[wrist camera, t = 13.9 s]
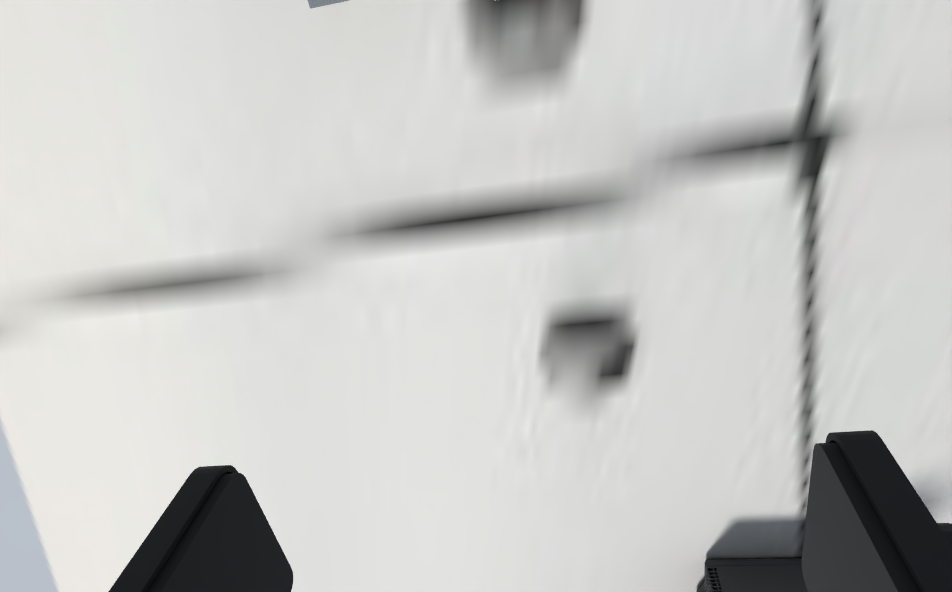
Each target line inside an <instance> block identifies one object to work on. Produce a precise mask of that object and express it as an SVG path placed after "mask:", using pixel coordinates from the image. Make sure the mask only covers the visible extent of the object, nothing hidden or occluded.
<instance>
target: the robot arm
mask: <svg viewBox="0 0 952 592" xmlns="http://www.w3.org/2000/svg"><path fill="white" fill-rule="evenodd" d="M801 564H802V572H803V577H804V581H805V584H806V587H807V590H808V592H952V524H950V523H936V521H935V520H934V518H933V517H932V515H931V514H930V512H929V511H928V509H927V508H926V506H925V505H924V503H923V502H922V500H921V498H920V497H919V495H918V494H917V492H916V491H915V489H914V488H913V486H912V485H911V483H910V482H909V480H908V479H907V477H906V476H905V474H904V473H903V471H902V469H901V468H900V466H899V465H898V463H897V462H896V460H895V459H894V457H893V456H892V454H891V453H890V451H889V450H888V448H887V447H886V445H885V444H884V442H883V441H882V439H881V438H880V436H879V435H878V434H877V433H876V432H874V431H854V432H836V433H829V434H828V436H827V438H826V443H819V444H815V446H814V450H813V459H812V468H811V477H810V487H809V496H808V505H807V514H806V523H805V532H804V541H803V550H802V561H801ZM292 585H293V572H292V569H291V566H290V564H289V563H288V561H287V559H286V557H285V555H284V553H283V551H282V549H281V547H280V545H279V543H278V541H277V539H276V537H275V535H274V533H273V531H272V529H271V527H270V525H269V523H268V521H267V519H266V517H265V515H264V513H263V511H262V509H261V507H260V505H259V503H258V501H257V499H256V497H255V495H254V493H253V491H252V489H251V487H250V486H249V484H248V482H247V480H246V478H245V476H244V475H243V474H241V473H238V471H237V470H236V469H235V468H234V467H233V466H231V465H226V466H207V467H199V468H197V469H195V470H194V471H193V472H192V473H191V474H190V476H189V477H188V478H187V480H186V481H185V483H184V484H183V486H182V487H181V489H180V490H179V491H178V493H177V494H176V496H175V497H174V499H173V500H172V501H171V503H170V504H169V506H168V507H167V509H166V510H165V512H164V513H163V514H162V516H161V517H160V519H159V520H158V522H157V523H156V524H155V526H154V527H153V529H152V530H151V532H150V533H149V535H148V536H147V537H146V539H145V540H144V542H143V543H142V545H141V546H140V547H139V549H138V550H137V552H136V553H135V555H134V556H133V558H132V559H131V560H130V562H129V563H128V565H127V566H126V568H125V569H124V570H123V572H122V573H121V575H120V576H119V578H118V579H117V581H116V582H115V583H114V585H113V586H112V588H111V589H110V591H109V592H291V589H292Z"/></svg>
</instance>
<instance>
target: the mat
mask: <svg viewBox="0 0 952 592" xmlns="http://www.w3.org/2000/svg"><path fill="white" fill-rule="evenodd" d="M344 1H348V0H308V3H309V6H310V8H315V7H320V6H324V5H329V4H334V3H339V2H344Z"/></svg>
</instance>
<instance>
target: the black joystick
mask: <svg viewBox="0 0 952 592" xmlns="http://www.w3.org/2000/svg"><path fill="white" fill-rule="evenodd" d="M801 561H802V558H781V559H710V560H706V561H705V582H704V583H703V585H702V586H701V587H700V588H699V589H698V590H697V592H808V590H807V587H806V584H805V581H804V577H803V572H802V564H801Z"/></svg>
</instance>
